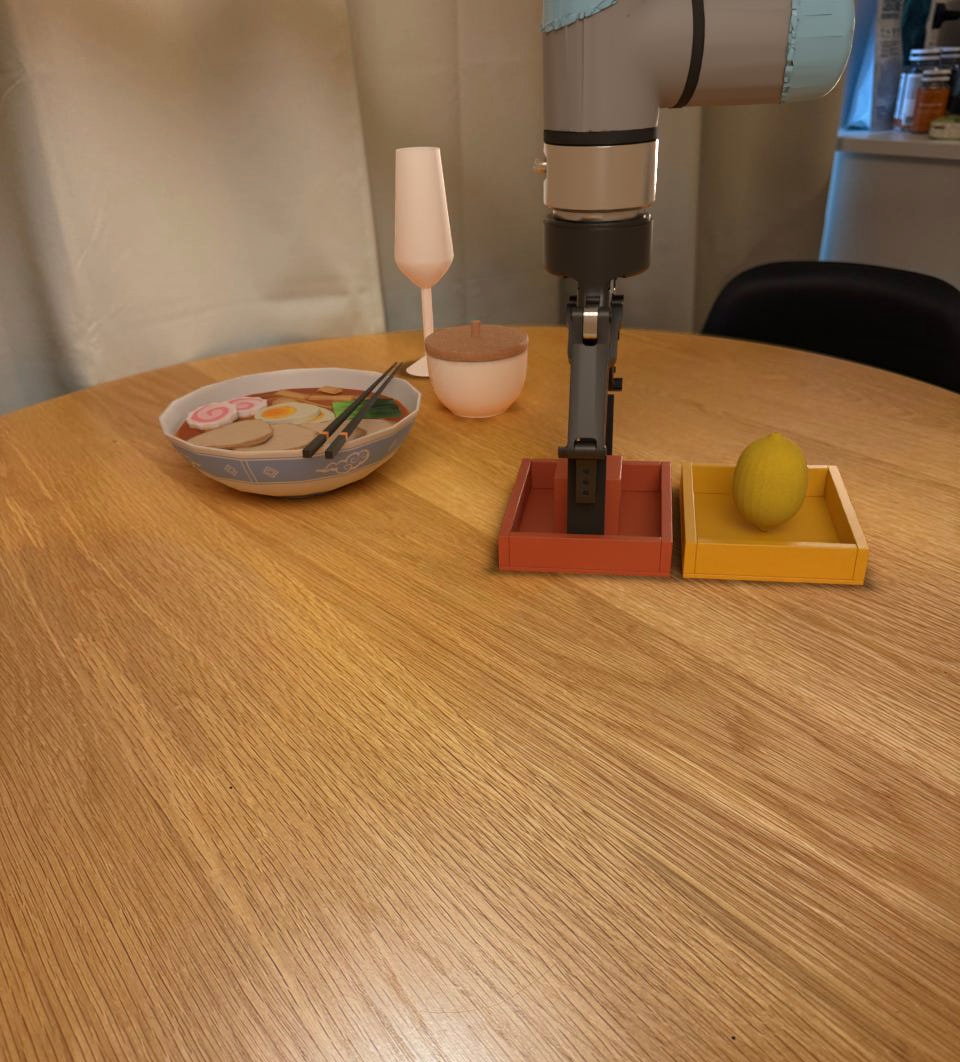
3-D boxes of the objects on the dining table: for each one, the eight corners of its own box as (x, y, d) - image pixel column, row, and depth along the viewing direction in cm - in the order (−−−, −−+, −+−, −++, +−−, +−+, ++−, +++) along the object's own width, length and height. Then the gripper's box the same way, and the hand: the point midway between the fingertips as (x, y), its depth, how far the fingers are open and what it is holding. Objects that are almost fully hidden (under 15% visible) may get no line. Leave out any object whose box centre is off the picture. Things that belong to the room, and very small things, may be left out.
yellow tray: (831, 500, 84) (837, 465, 83) (862, 588, 71) (870, 549, 70) (679, 495, 86) (681, 461, 85) (682, 580, 73) (685, 542, 72)
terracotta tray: (668, 495, 86) (670, 461, 85) (669, 580, 73) (672, 541, 72) (523, 491, 88) (522, 457, 87) (498, 573, 75) (497, 535, 74)
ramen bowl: (240, 431, 104) (227, 352, 100) (455, 440, 100) (451, 358, 95) (119, 535, 83) (96, 441, 79) (384, 552, 79) (375, 453, 75)
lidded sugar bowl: (482, 435, 101) (478, 340, 96) (408, 414, 107) (401, 324, 102) (549, 407, 107) (549, 317, 102) (476, 389, 114) (473, 303, 109)
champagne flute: (391, 374, 120) (373, 151, 107) (425, 360, 124) (412, 145, 112) (436, 382, 116) (423, 153, 104) (470, 367, 121) (461, 146, 108)
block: (620, 513, 82) (622, 455, 80) (618, 539, 78) (620, 479, 75) (559, 511, 83) (559, 453, 80) (553, 537, 79) (554, 477, 76)
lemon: (787, 552, 75) (801, 450, 71) (716, 536, 78) (726, 437, 74) (810, 524, 79) (824, 426, 75) (742, 510, 82) (753, 415, 78)
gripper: (558, 186, 79) (557, 445, 90) (522, 245, 59) (526, 571, 70) (654, 184, 78) (641, 447, 89) (652, 244, 57) (635, 576, 69)
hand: (590, 502), depth 80 cm, fingers open, 12 cm apart
